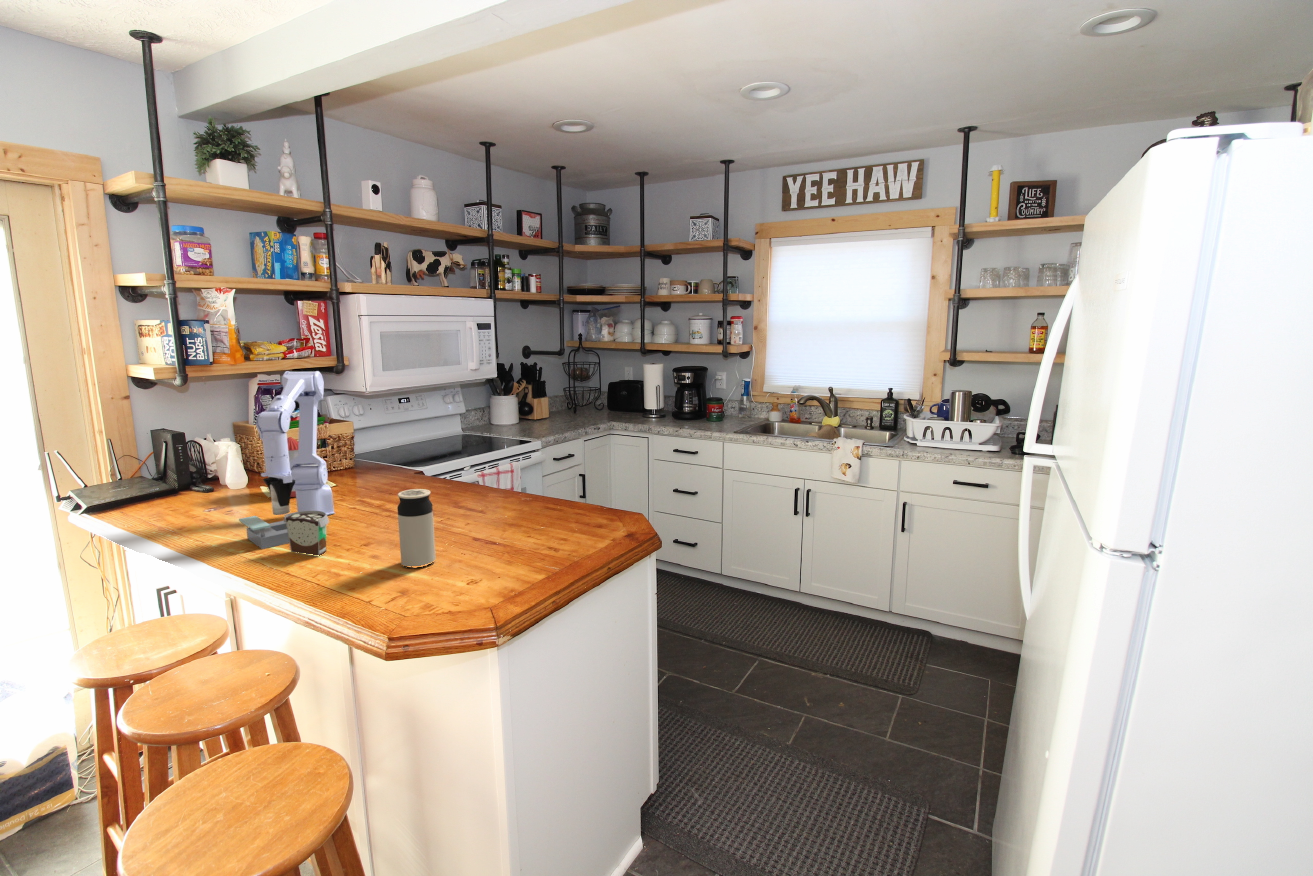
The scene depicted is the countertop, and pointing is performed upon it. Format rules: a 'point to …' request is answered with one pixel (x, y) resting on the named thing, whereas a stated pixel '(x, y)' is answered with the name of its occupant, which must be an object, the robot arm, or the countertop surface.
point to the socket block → (265, 532)
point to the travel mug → (416, 527)
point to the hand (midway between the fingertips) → (281, 504)
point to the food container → (307, 531)
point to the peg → (277, 504)
